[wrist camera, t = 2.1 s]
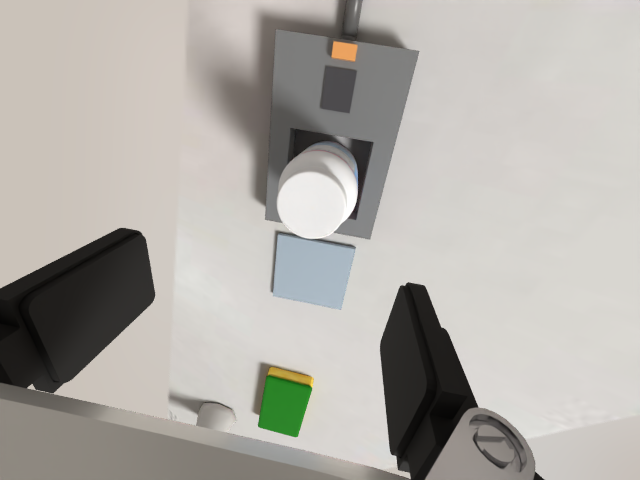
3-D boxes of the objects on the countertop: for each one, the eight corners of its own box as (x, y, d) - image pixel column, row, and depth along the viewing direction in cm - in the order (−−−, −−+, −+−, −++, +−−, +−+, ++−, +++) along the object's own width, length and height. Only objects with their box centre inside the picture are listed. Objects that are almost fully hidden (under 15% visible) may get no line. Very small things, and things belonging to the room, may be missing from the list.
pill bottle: (333, 210, 29) (320, 264, 19) (287, 176, 28) (248, 214, 18) (370, 165, 26) (378, 200, 17) (321, 125, 25) (297, 137, 15)
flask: (238, 407, 48) (211, 475, 39) (236, 429, 51) (210, 496, 42) (199, 397, 48) (163, 462, 39) (199, 419, 51) (166, 484, 43)
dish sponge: (314, 375, 42) (312, 389, 40) (299, 423, 48) (297, 438, 46) (270, 363, 42) (266, 377, 40) (261, 413, 49) (257, 427, 46)
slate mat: (279, 232, 31) (277, 234, 31) (355, 247, 31) (355, 249, 30) (273, 293, 35) (272, 296, 35) (341, 307, 35) (341, 309, 34)
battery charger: (292, -84, 19) (281, -115, 17) (443, -63, 19) (458, -93, 16) (272, 211, 30) (263, 221, 27) (369, 229, 30) (370, 242, 27)
